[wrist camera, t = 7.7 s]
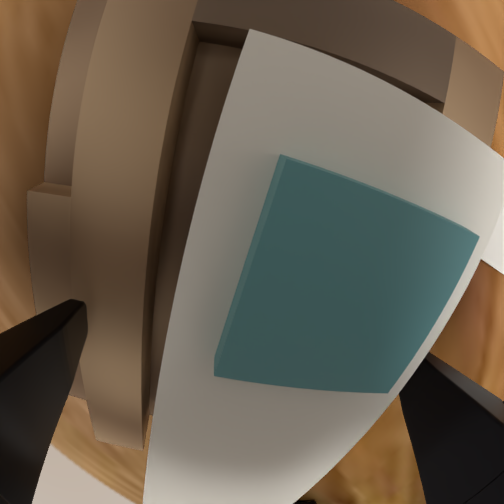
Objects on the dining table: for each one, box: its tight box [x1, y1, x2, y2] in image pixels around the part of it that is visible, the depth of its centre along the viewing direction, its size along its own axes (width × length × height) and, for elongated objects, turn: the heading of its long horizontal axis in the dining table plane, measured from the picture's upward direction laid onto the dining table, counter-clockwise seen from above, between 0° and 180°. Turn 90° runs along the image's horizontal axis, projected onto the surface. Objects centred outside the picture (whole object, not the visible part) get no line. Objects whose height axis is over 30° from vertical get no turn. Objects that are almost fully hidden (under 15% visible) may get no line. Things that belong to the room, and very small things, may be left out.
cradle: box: [27, 0, 504, 451], centre depth 9 cm, size 16×14×3 cm
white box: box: [143, 29, 504, 504], centre depth 8 cm, size 12×4×5 cm, turn 163°
